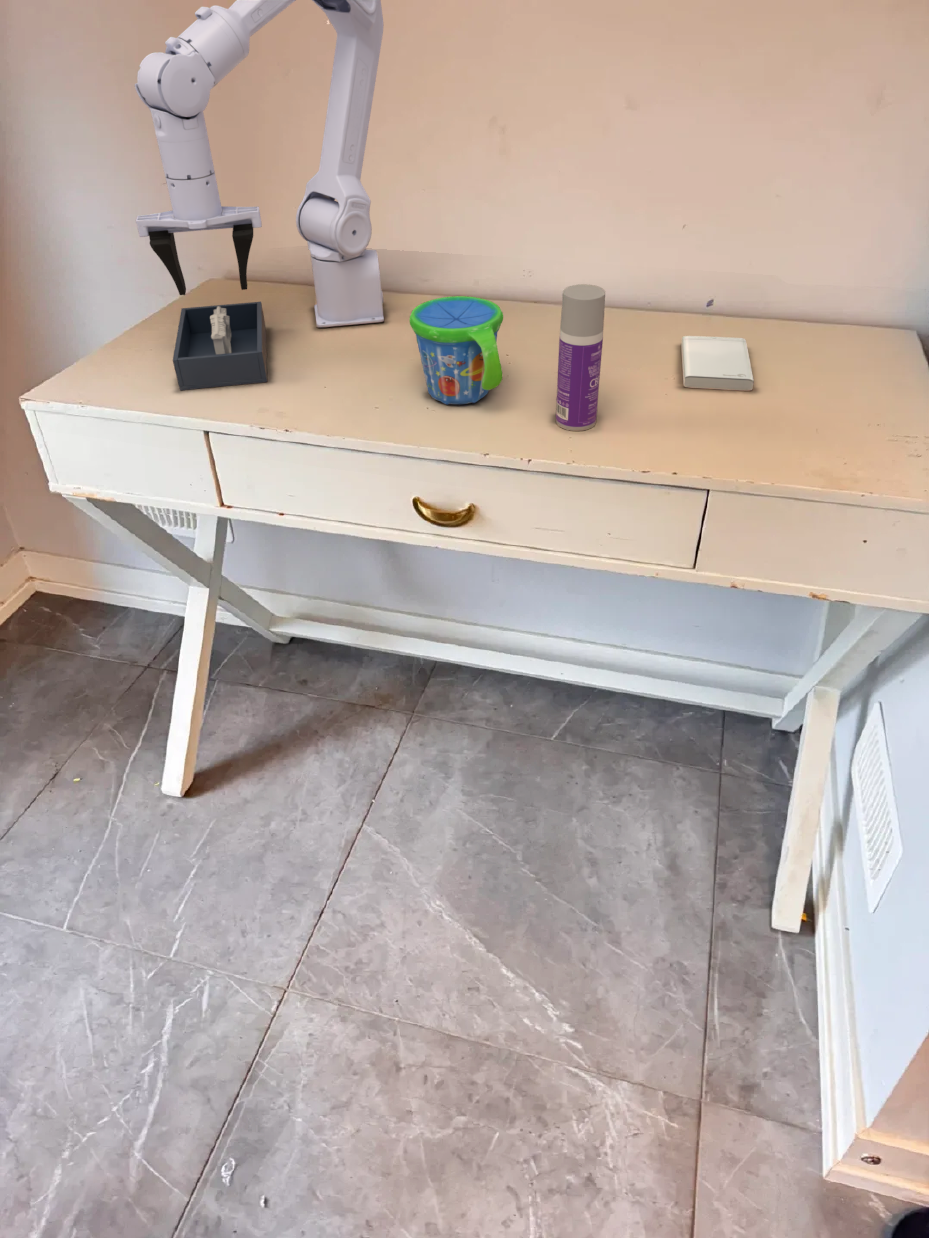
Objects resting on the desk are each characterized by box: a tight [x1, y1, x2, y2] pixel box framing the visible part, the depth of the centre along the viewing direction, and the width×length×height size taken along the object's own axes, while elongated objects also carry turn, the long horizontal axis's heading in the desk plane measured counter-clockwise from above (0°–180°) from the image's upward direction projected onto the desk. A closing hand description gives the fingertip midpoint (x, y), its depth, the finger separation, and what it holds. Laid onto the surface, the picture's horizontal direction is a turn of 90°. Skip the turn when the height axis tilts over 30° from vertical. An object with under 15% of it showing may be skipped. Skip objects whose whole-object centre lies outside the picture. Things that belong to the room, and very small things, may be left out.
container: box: [555, 283, 606, 432], centre depth 98 cm, size 5×5×15 cm
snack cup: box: [409, 295, 504, 405], centre depth 106 cm, size 16×10×10 cm
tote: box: [172, 300, 268, 391], centre depth 117 cm, size 11×17×4 cm, turn 10°
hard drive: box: [680, 335, 755, 392], centre depth 113 cm, size 2×8×12 cm
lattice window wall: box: [210, 306, 232, 354], centre depth 116 cm, size 12×2×6 cm, turn 10°
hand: (213, 289), depth 113 cm, fingers open, 7 cm apart
